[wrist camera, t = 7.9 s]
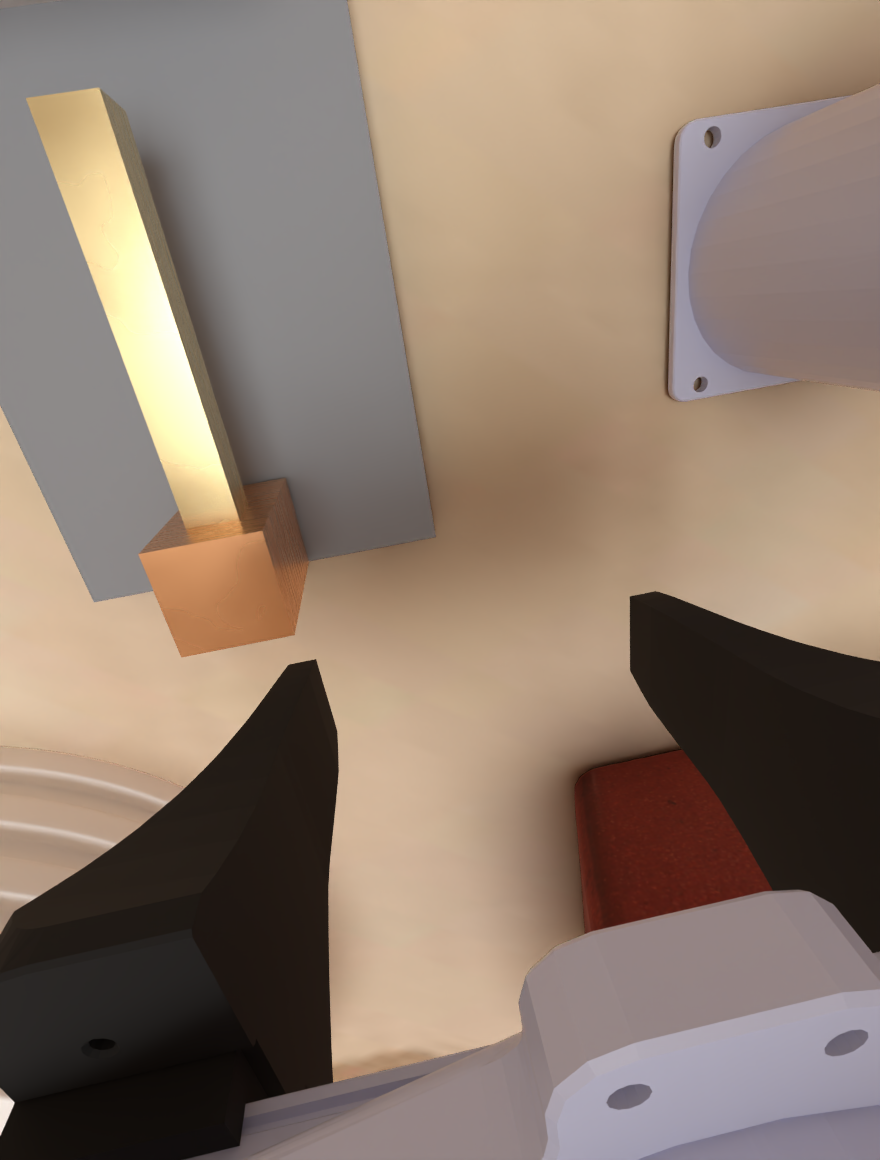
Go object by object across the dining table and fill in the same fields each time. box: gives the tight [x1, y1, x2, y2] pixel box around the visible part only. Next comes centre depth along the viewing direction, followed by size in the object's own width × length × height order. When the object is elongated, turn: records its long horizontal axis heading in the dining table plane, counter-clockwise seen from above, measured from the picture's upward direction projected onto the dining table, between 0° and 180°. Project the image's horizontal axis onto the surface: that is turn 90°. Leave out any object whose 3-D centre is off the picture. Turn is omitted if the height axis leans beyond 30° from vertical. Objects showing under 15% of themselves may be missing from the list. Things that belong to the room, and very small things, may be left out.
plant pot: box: [575, 750, 773, 934], centre depth 23 cm, size 19×19×17 cm
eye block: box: [0, 0, 436, 602], centre depth 13 cm, size 12×20×7 cm, turn 9°
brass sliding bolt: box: [26, 88, 309, 657], centre depth 15 cm, size 3×12×5 cm, turn 9°
